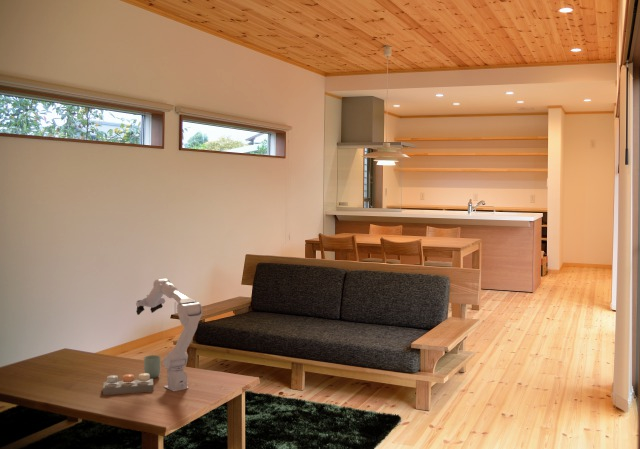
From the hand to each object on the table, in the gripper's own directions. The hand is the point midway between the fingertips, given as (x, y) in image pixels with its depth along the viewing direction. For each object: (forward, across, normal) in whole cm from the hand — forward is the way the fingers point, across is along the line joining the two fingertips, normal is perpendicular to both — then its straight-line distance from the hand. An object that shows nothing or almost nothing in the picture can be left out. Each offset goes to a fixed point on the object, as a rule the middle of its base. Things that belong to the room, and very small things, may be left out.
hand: (144, 312), depth 334 cm
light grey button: (+9, +24, +29) cm, 38 cm away
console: (+9, +18, +34) cm, 40 cm away
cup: (+17, -1, +27) cm, 32 cm away
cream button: (+4, +12, +33) cm, 36 cm away
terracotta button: (+6, +18, +31) cm, 36 cm away
